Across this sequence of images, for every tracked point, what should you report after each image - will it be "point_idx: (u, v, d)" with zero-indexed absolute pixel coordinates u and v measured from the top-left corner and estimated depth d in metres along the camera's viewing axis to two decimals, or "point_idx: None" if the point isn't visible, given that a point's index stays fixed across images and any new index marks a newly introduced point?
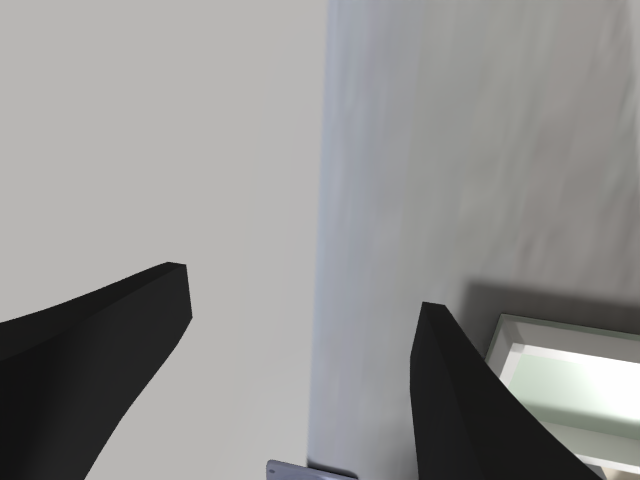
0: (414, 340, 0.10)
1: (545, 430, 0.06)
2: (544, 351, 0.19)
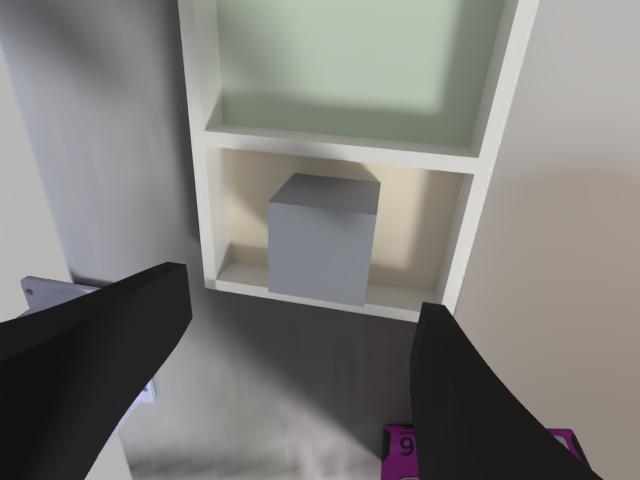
0: (414, 340, 0.10)
1: (545, 430, 0.06)
2: None
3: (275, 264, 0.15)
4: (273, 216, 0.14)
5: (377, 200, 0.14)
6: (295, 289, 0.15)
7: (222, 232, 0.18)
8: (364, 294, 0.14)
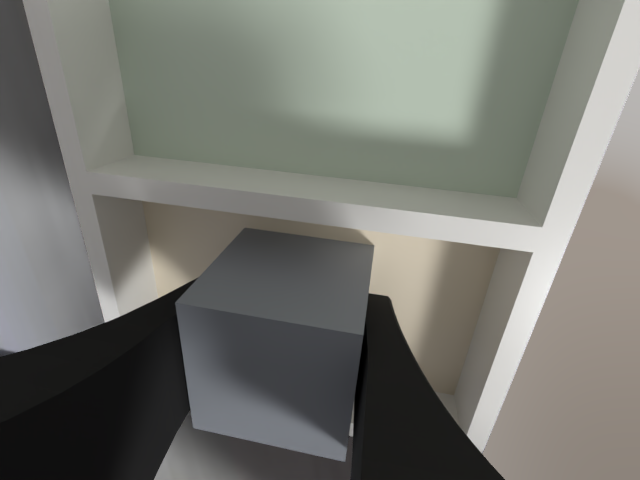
0: None
1: (444, 410, 0.06)
2: None
3: (199, 393, 0.09)
4: (187, 325, 0.08)
5: (366, 291, 0.09)
6: (234, 428, 0.09)
7: None
8: (345, 445, 0.09)
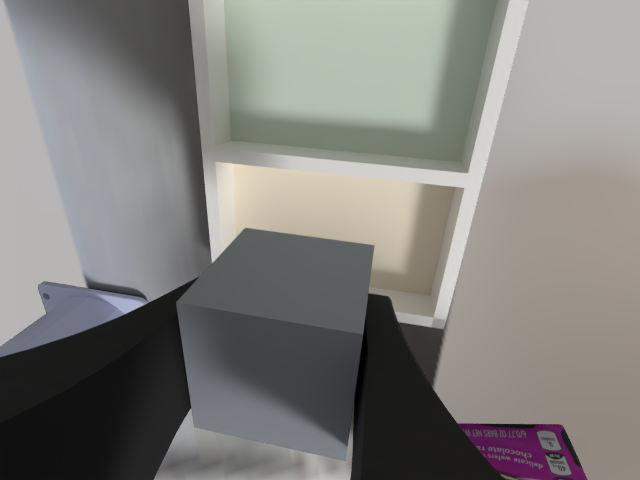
0: None
1: (444, 410, 0.06)
2: None
3: (200, 392, 0.09)
4: (187, 324, 0.08)
5: (366, 290, 0.09)
6: (235, 427, 0.09)
7: (230, 240, 0.19)
8: (345, 444, 0.09)
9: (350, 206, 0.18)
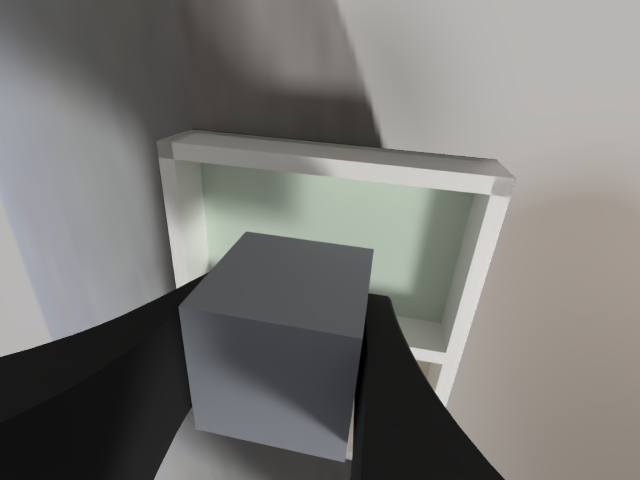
0: None
1: (443, 410, 0.06)
2: (198, 151, 0.13)
3: (201, 394, 0.09)
4: (190, 328, 0.08)
5: (366, 294, 0.09)
6: (236, 429, 0.09)
7: None
8: (345, 446, 0.09)
9: None
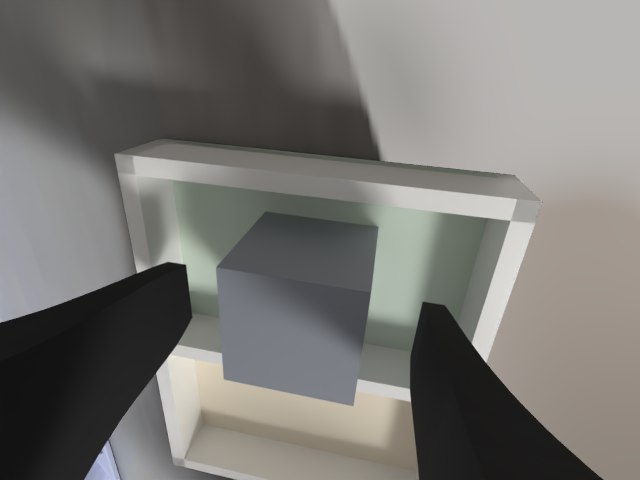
0: (414, 340, 0.10)
1: (545, 430, 0.06)
2: (163, 166, 0.11)
3: (231, 347, 0.11)
4: (224, 286, 0.10)
5: (373, 261, 0.10)
6: (259, 379, 0.11)
7: (191, 409, 0.17)
8: (354, 391, 0.10)
9: None
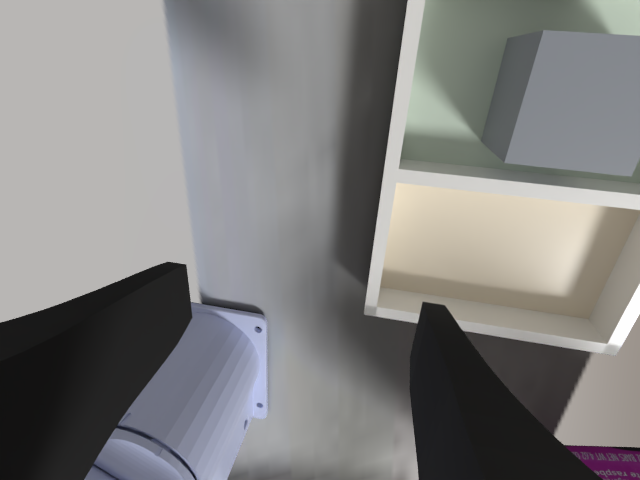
0: (414, 340, 0.10)
1: (545, 430, 0.06)
2: None
3: (526, 122, 0.12)
4: (544, 51, 0.11)
5: None
6: (543, 157, 0.12)
7: None
8: (638, 158, 0.12)
9: (518, 227, 0.17)
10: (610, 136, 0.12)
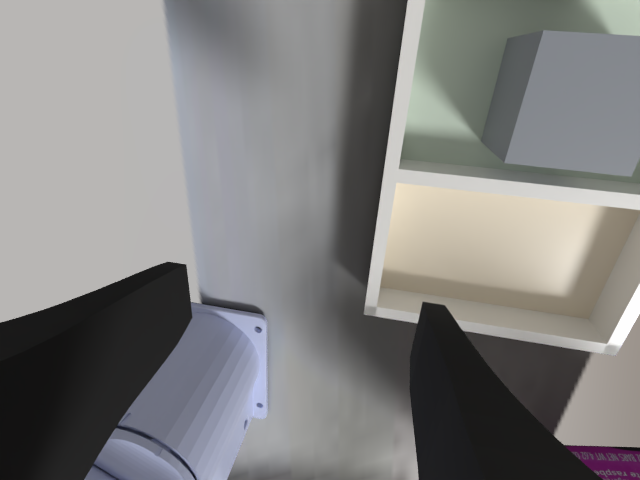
0: (414, 340, 0.10)
1: (545, 430, 0.06)
2: None
3: (526, 122, 0.12)
4: (544, 51, 0.11)
5: None
6: (543, 157, 0.12)
7: None
8: (638, 158, 0.12)
9: (518, 228, 0.18)
10: (610, 136, 0.12)
